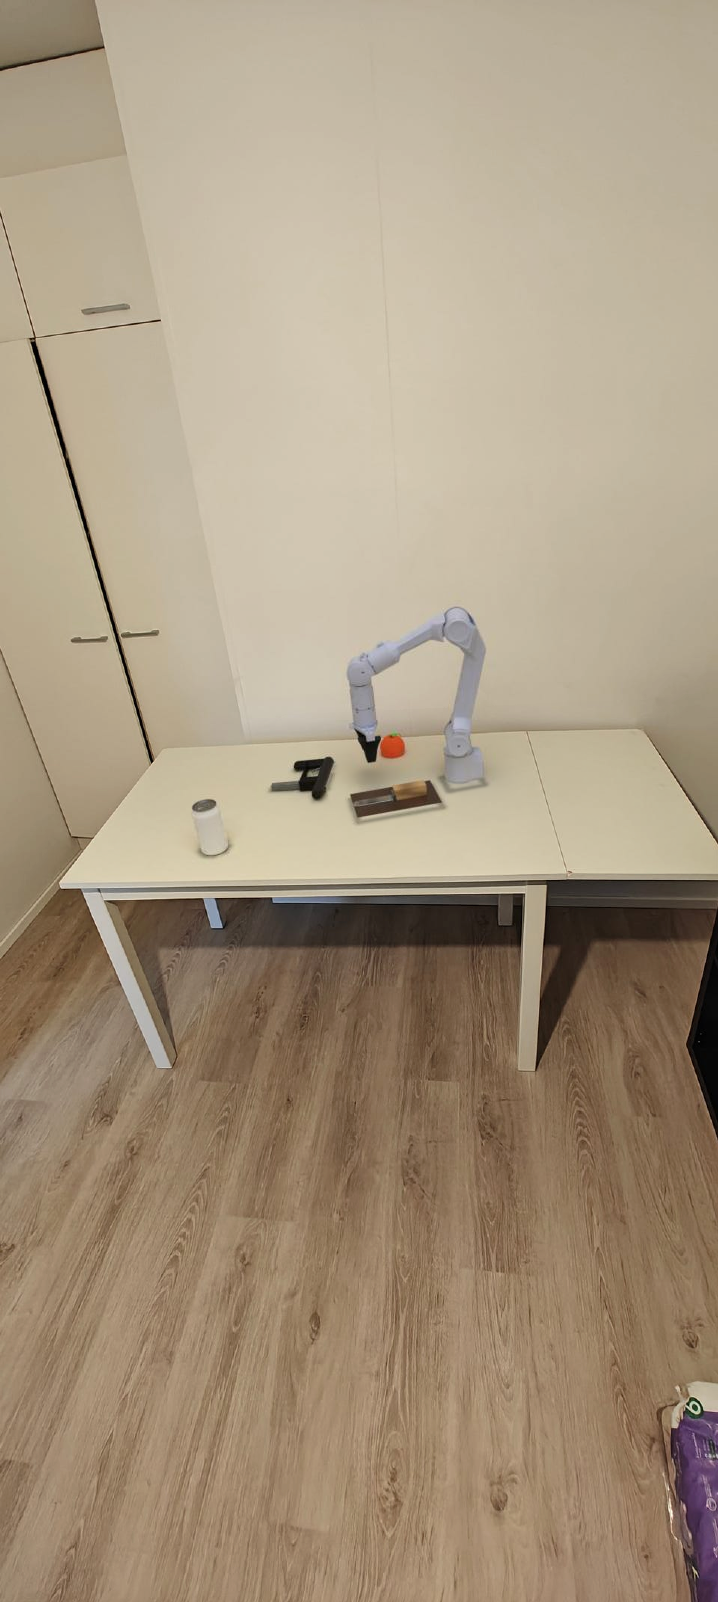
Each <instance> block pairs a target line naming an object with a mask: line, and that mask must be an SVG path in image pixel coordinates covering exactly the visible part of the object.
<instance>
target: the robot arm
mask: <svg viewBox="0 0 718 1602" xmlns="http://www.w3.org/2000/svg"><path fill="white" fill-rule="evenodd" d="M444 638H445V640H446V641H448V642H449V643H450V644H452V645H454V646H455V647H457V648H459V650H460V651H461V652H462V653H463V659H462V664H461V668H460V674H459V679H458V684H457V690H456V695H455V699H454V705H453V709H452V712H451V714H450V718H449V720H448V722H447V723H446V725H445V726H444V730H443V733H444V737H445V746H444V747H443V760H444V763H443V764H444V777H445V780H446V781H447V782H448V783H451V784H455V785H462V784H466V783H469V782H473V781H477V780H483V779H484V757H483V753H482V750H481V748H480V747H479V746H473V744H472V740H471V732H472V718H473V713H474V709H475V704H476V699H477V694H478V690H479V686H480V682H481V681H480V680H481V676H482V672H483V667H484V662H485V658H486V653H487V647H486V644H485V642H484V639H483V637H482V636H481V633H480V630H479V628H478V626H477V624H476V621H475V619H474V617H473V616H472V614H470V612H468V610H467V609H465V608H464V607H462V606H451V607H450V608H448V609H447V610H446V611H442V612H439V613H437V614H436V615H434V616H433V617H431V618H430V619H428V620H427V621H426V622H424V623H422V624H420V625H419V626H418V627H416V628H415V629H413V630H411V631H409V632H408V633H407V634H405V635H404V636H402V637H400V638H399V639H397V640H396V641H391V640H385V641H382V640H379V642H377V643H376V646H375V647H374V648H371V649H370V650H368V651H367V652H361V653H359V655H355V656H353V657H352V658H351V659H350V660H349V662H348V663H347V664H348V665H347V670H346V679H347V680H348V684H349V696H350V703H351V712H352V720H353V722H350V723H348V726H349V729H350V730H352V729H353V730H354V731H355V733H356V735H357V741H358V743H359V745H360V747H361V749H362V751H363V753H364V757H365V759H366V762H367V764H371V763H376V762H377V756H378V749H379V747H380V744H381V741H382V736H381V735H379V734H378V735H375V733H376V730H377V727H378V724H379V722H378V719H377V712H376V701H375V694H374V693H375V691H374V686H373V682H372V677H373V676H377V675H378V674H381V673H382V672H384V671H386V670H387V669H390V668H391V667H393V666H395V665H396V664H398V663H399V662H400V660H401V656H402V655H404V654H405V653H406V654H407V652H409V651H411V650H413V649H416V648H417V647H419V646H422V645H423V644H425V643H427V642H429V641H435V642H440V643H444V642H445V641H444Z"/></svg>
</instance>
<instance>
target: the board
mask: <svg viewBox="0 0 718 1602" xmlns="http://www.w3.org/2000/svg"><path fill="white" fill-rule="evenodd" d="M424 782H425V784H426V789H427V795H424V796H419V797H413V798H408V799H402V800H397V801H391V802H385V803H380V804H374V805H369V806H363V807H355V806H354V802H356V801H359V800H365V799H371V798H376V797H382V796H388V795H391V790H393V786H389V787H388V786H387V787H383V788H377V789H371V790H365V791H359V792H355V793H350V794H349V796H350V799H351V802H352V805H353V808H354V811H355V815H356V818H357V819H359V818H365V817H369V816H370V817H371V816H376V815H381V814H387V813H393V812H397V811H404V810H410V809H414V808H421V807H426V806H430V805H437V804H443V801H442V799H441V798H440V795H439V794H438V791H437V790H436V789H435V787H434V784H433V783H432V781H431V779H428V780H424Z"/></svg>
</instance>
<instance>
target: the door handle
mask: <svg viewBox="0 0 718 1602" xmlns="http://www.w3.org/2000/svg"><path fill="white" fill-rule="evenodd" d="M334 763H335V761H334V758H333V757H332V756H325V757H324V758H314V759H302V760H297V761H295V762H294V763H293V769H294V770H295V771H297V772H298V771H302V772H301V775H300V777H299V780H292V781H291V780H289V781H280V782H279V781H278V782H272V783H271V785H270V788H271V791H272V792H281V791H292V790H299V791H300V792H311V797H312V798H313V799H314V800H319V799H321V798H322V797H323V795H324V793H325V790H327V784H328V780H329V777H330V774H331V772H332V769H333V766H334ZM310 770H311V771H310ZM309 772H311V773H315V772H318V774H317V775H312V776H311V775H310V776H308V774H309Z"/></svg>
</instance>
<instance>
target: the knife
mask: <svg viewBox="0 0 718 1602" xmlns="http://www.w3.org/2000/svg"><path fill="white" fill-rule="evenodd" d="M424 781H425V780H424V779H422V780H421V779H420V780H416V781H410V782H405V783H399V784H393V785H392V787H393V790H391V795H388V796H382V797H376V798H371V799H365V800H359V801H356V802H354V806H355V807H363V806H369V805H374V804H380V803H385V802H391V801H397V800H402V799H408V798H413V797H419V796H424V795H427V789H426V784H425V782H424ZM354 806H353V807H354Z"/></svg>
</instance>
